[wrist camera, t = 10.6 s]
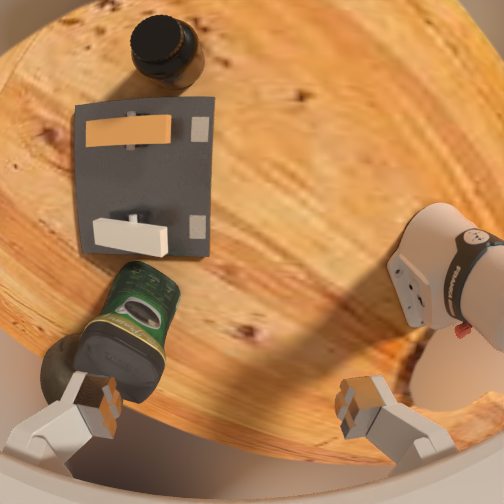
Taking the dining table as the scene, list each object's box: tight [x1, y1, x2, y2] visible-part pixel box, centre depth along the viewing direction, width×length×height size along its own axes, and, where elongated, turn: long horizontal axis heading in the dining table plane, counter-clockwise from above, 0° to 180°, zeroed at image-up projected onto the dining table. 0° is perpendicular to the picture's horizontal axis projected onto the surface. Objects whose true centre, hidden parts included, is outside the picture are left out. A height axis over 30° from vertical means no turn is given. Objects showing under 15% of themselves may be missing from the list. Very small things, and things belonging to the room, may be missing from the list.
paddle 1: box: [86, 111, 171, 150], centre depth 30 cm, size 10×4×2 cm, turn 87°
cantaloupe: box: [40, 334, 123, 407], centre depth 39 cm, size 14×14×15 cm
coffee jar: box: [73, 261, 181, 404], centre depth 34 cm, size 10×8×19 cm
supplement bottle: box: [130, 15, 205, 89], centre depth 26 cm, size 7×7×12 cm
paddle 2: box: [93, 214, 168, 257], centre depth 34 cm, size 10×4×2 cm, turn 86°
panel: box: [74, 97, 215, 257], centre depth 35 cm, size 18×20×3 cm
